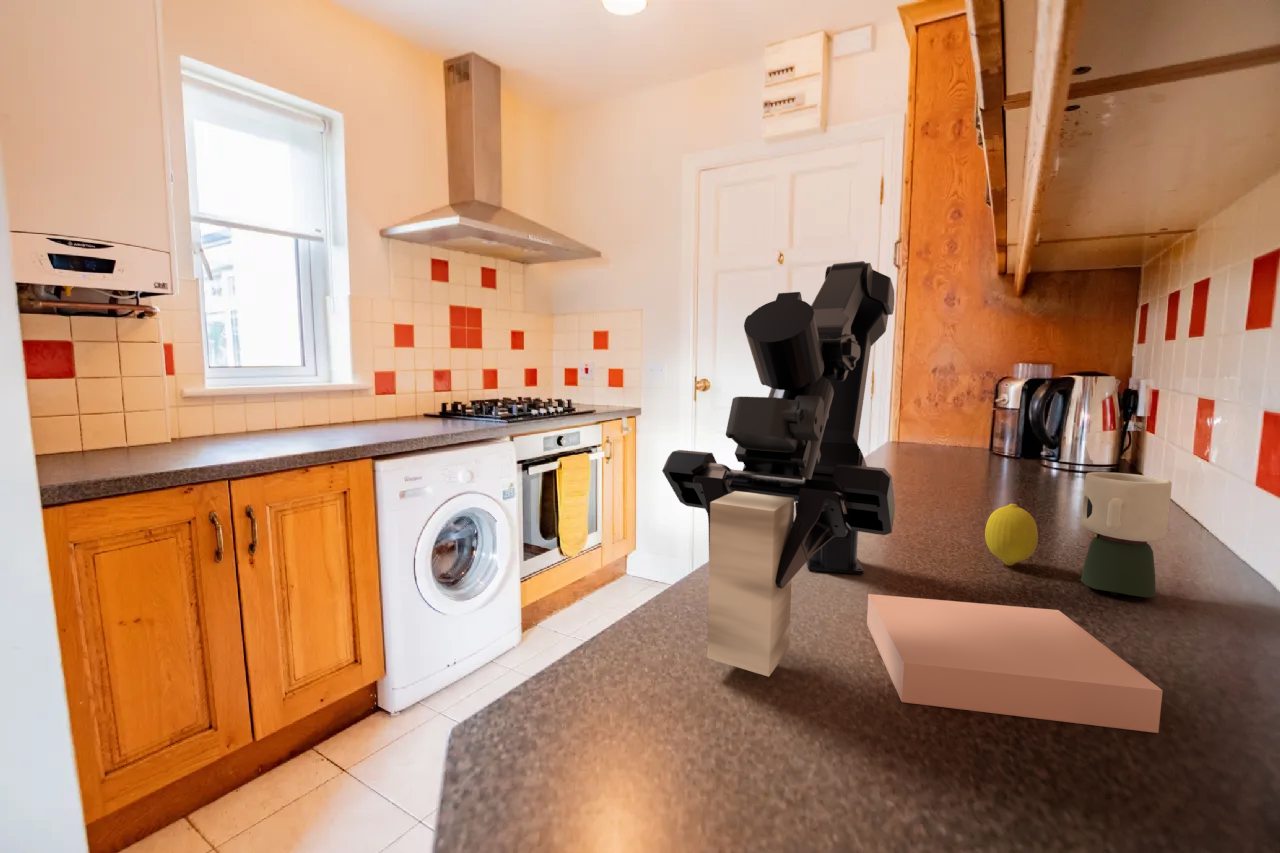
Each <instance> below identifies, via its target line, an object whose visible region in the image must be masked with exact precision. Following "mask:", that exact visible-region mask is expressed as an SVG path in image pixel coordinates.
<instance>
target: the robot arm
mask: <svg viewBox="0 0 1280 853" xmlns="http://www.w3.org/2000/svg"><path fill="white" fill-rule="evenodd" d="M894 310H895V289H894V286H893V281H892V279H891V277H890V276H887V275H885V274H884V273H881V272H879V271H877V270H875V269H873V267H872V264H871V262H865V261H864V260H862V261H851V262H839V263H833V264H832V265H831V266H830V265H829V266H827V267H826V270H825V275H824V282H823V283H822V285H821V287H820V288H819V291H818V292H817V294H816V296H815V298H814V299H813V302H812V304H810V303H808V302H807V301H805V300H803V298H802V292H801V291H794V292H793V291H791V292H778V293H777V296H776V297H775V300H772V301H770V302H767V303H765V304H763V305H761V306H760V307H757V309H755V310H754V311H753V312H752V313H751V314H749V315H747V316H746V317H745V320H744V324H743V329H744V333H745V337H746V339H747V340H746V341H747V342H748V346H749V349H750V351H751V356H752V359H753V362H754V365H755V369H756V372H757V375H758V379H759V382H760V384H761V385H762V386H766V387H769V388H771V389H770V391H769V394H768V396H767V397H766V396H735V397H733V398H732V401H731V406H730V411H729V416H728V420H727V426H726V430H725V431H726V432H725V436H726V438H728V439H731V440H732V441H733V442H734V443H736V449H735V451H734V455H735V458H736V461H737V463H743V468H742V470H741V469H740V470H739V469H732V468H729V466H727V465H725V464H724V463H718V462H717V460H716V458H715V456H714V453H713V452H707V451H697V450H696V451H693V450H684V449H677V450H673V451H672V452H671V453H670V454H669V455H668V457H667V458H666V461H665V462H664V466H663V468H662V473H663V475H664V477H665V479H666V480H667V482H668V484H669V485H670V487H671V489H672V491H673V492H674V494H675V496H676V497H677V500H678V501H679V502H680V503H681V504H683V505H684V506H685V507H686V506H687V507H690V508H691V507H692V508H697V509H704V510H705V512H706V513H707V518H708V523H707V524H708V547H709V546H710V502H712V501H714V500H716V499H719V498H721V497H723V496H725V495H727V494H729V493H732V492H734V491H741V492H749V493H757V494H765V495H773V496H781V497H788V498H794V507H795V517H794V523H793V525H792V528H791V531H790V534H789V536H788V539H787V542H786V545H785V548H784V550H783V553H782V556H781V559H780V562H779V566H778V571H777V575H776V581H775V582H776V585H777V587H778V588H781V589H783V588H784V587H785V586H786V585H787V583H788V582H789V581H790V580H791V579H792V580H793V578H794V577H795V575H796V574H797V573H798V572H799V571H800V570H801V569H802V568H803V566H805V564H806V567H807V568H806V569H807V570H809V571H814V572H815V571H818V572H831V573H843V574H855V575H856V574H857V575H859V574H860V575H863V574H864V573H865V569H864V567H863V566H862V564H861V562H860V560H859V559H858V544H859V543H858V542H859V532H861V533H867V534H874V535H880V536H886V535H889V534H893V526H894V521H895V512H896V504H895V503H896V502H895V492H894V485H893V477H892V475H891V474H890V473H889V472H888V470H887V469H886V468H885V467H877V466H876V467H873V466H867V463H866V460H865V457H864V455H863V452H862V450H861V448H860V447H859V444H858V442H859V435H860V434H859V432H860V428H861V419H862V413H863V406H864V399H865V398H864V397H865V393H866V391H865V390H866V386H867V385H866V384H867V377H868V370H869V364H870V363H869V362H870V357H871V356H870V355H871V350H872V346H873V345H874V344H875V343H876V342H877V341H878V340H879V339H880V338H881V337H882V336H883V335H884V334H885V333H886V332H887V331H886V330H887V326H888V320H889V319H888V318H889V316H890V315H891V316H892V315H894Z"/></svg>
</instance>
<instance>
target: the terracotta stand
mask: <svg viewBox="0 0 1280 853" xmlns="http://www.w3.org/2000/svg"><path fill="white" fill-rule="evenodd" d="M867 596H868V597H867V618H866V619H867V620H866V626H867V628H868V630H869V632H870V635H871V637H872V639H873V641H874V643H875V646H876V647H877V650H878V653H879V655H880V657H881V659H882V661H883V664H884V666H885V668H886V671H887V673H888V675H889V678H890V680H891V682H892V683H893V686H894V688H895V690H896V692H897V695H898V697H899V699H900V701H901V703H907V704H915V705H924V706H931V707H940V708H949V709H956V710H966V711H972V712H981V713H990V714H996V715H1007V716H1012V717H1013V716H1016V717H1022V718H1029V719H1030V718H1031V719H1032V718H1033V719H1039V720H1046V721H1047V720H1048V721H1054V722H1055V721H1056V722H1065V723H1071V724H1072V723H1074V724H1081V725H1090V726H1098V727H1105V728H1115V729H1123V730H1130V731H1138V732H1139V731H1140V732H1148V733H1156V734H1159V732H1160V731H1159V730H1160V718H1161V708H1162V701H1163V700H1162V699H1163V691H1164V690H1163V689H1161V687H1159V686H1158V685H1156V684H1155V683H1153V682H1152V681H1151V680H1150V679H1148V678H1147V677H1146V676H1145V675H1143V674H1142V673H1141V672H1139V671H1138V670H1137V669H1135V667H1133V666H1131V665H1130V664H1129V663H1128V662H1127V661H1125V660H1124V659H1122V657H1120V656H1119V655H1117V654H1116V653H1115V652H1113V651H1112V650H1111V649H1110V648H1108V647H1107V646H1106V645H1104V644H1103V643H1102V642H1101V641H1099V640H1098V639H1096V638H1095V637H1094V636H1093V635H1092V634H1091V633H1089V632H1087V631H1086V630H1085V629H1083V627H1081V626H1080V625H1078V624H1077V623H1076V622H1074V621H1073V620H1072V619H1071V618H1070V617H1068V616H1067V615H1065V614H1064V613H1063V612H1061V610H1059V609H1049V608H1038V607H1037V608H1036V607H1027V606H1025V607H1024V606H1015V605H1014V606H1013V605H1002V604H992V603H977V602H966V601H955V600H943V599H931V598H919V597H918V598H917V597H908V596H907V597H906V596H896V595H886V594H885V595H884V594H873V593H868V595H867Z"/></svg>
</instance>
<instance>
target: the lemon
mask: <svg viewBox="0 0 1280 853" xmlns="http://www.w3.org/2000/svg"><path fill="white" fill-rule="evenodd" d="M984 538H985V539H984V540H985V543H986V545H987V548H988V549H989V551H990V552H991V553H992V554H993V556H995V557H996V558H998V559H1000V560H1001V561H1002V562H1003V563H1004V564H1005V565H1006V566H1008V567H1010V566H1013V565H1015V564H1016V563H1020V562H1023V561H1025V560H1027V559H1029V558H1030V557H1031V556H1032V555H1033V554H1034V553H1035V551H1036V549H1037V546H1038V543H1039V534H1038V527H1037V523H1036V521H1035V519H1034V517H1033V516H1032V515H1031V514H1030V513H1029V512H1028V511H1027V510H1025V509H1024V508H1021V507H1020V506H1018V504H1016V503H1009V504H1008V505H1005V506H1004V505H1003V506H1002V507H1001V506H1000V507H999V508H997V509H994V511H993V512H992V513H991V514H990V515H989V517H988V519H987V521H986V526H985V531H984Z"/></svg>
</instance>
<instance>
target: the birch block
mask: <svg viewBox="0 0 1280 853" xmlns="http://www.w3.org/2000/svg"><path fill="white" fill-rule="evenodd" d="M794 515H795V502H794V498H788V497H781V496H773V495H765V494H757V493H749V492H741V491H734V492H732V493H729V494H727V495H725V496H723V497H721V498H719V499H716V500H714V501H712V502H710V546H709V545H708V599H707V600H708V601H707V602H708V604H707V606H708V607H707V609H708V610H707V611H708V612H707V651H706V652H707V653H706V654H707V655H706V659H710V660H712V661H716V662H719V663H722V664H725V665H729V666H733V667H736V668H739V669H742V670H745V671H749V672H752V673H755V674H759V675H762V676H765V677H770V676H771V674H772V673H773V672H774V671H775V669H776V668H777V666H778V665H779V663H780V662H781V660H782V659H783V658H784V657H785V655H786V654H787V652H788V651H789V650H790V637H791V636H790V635H791V634H790V632H791V607H792V606H791V605H792V604H791V602H792V580H793V578H792V579H791V580H790V581H789V582H788V583H787V585H786V586H785V587H784V588H783V589H781V588H778V587H777V585H776V582H775V581H776V575H777V571H778V566H779V562H780V559H781V556H782V553H783V550H784V548H785V545H786V542H787V539H788V536H789V534H790V531H791V528H792V525H793V523H794V520H795V517H794Z"/></svg>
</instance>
